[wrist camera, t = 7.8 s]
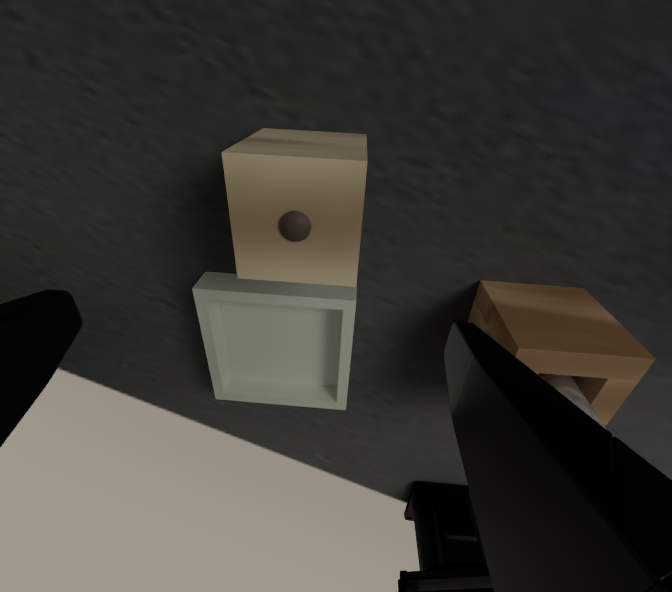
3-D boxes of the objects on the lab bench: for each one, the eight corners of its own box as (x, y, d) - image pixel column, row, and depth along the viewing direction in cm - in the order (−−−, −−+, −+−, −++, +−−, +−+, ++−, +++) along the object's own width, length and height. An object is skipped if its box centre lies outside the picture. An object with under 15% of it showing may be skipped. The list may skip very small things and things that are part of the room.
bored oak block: (544, 362, 24) (593, 440, 19) (456, 355, 24) (481, 431, 19) (583, 288, 20) (655, 358, 15) (480, 280, 20) (518, 348, 15)
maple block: (358, 231, 19) (356, 288, 14) (270, 225, 20) (236, 279, 14) (366, 134, 17) (367, 161, 12) (263, 128, 17) (220, 152, 12)
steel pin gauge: (524, 337, 23) (620, 494, 14) (494, 335, 23) (570, 489, 14) (536, 312, 21) (646, 466, 13) (503, 310, 22) (593, 461, 13)
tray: (346, 388, 26) (345, 410, 25) (224, 378, 27) (215, 398, 25) (356, 282, 21) (356, 300, 19) (205, 271, 21) (192, 288, 20)
